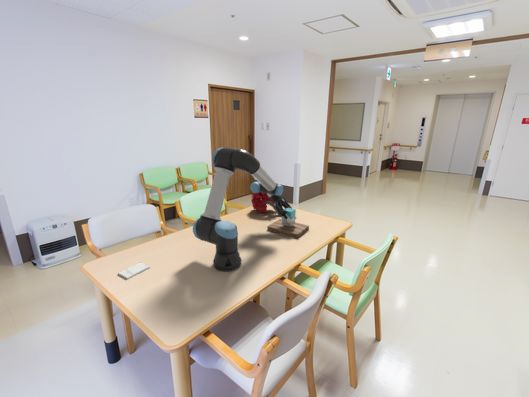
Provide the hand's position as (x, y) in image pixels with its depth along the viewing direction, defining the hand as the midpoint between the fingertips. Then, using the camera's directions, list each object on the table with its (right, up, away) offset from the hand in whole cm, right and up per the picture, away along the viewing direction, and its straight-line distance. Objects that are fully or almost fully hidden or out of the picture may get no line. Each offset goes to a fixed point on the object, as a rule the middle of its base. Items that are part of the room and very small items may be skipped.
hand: (292, 220), depth 185 cm
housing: (-3, -3, +3) cm, 5 cm away
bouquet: (-18, +4, +39) cm, 43 cm away
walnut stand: (-3, -7, +4) cm, 9 cm away
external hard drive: (-88, -23, -49) cm, 103 cm away
